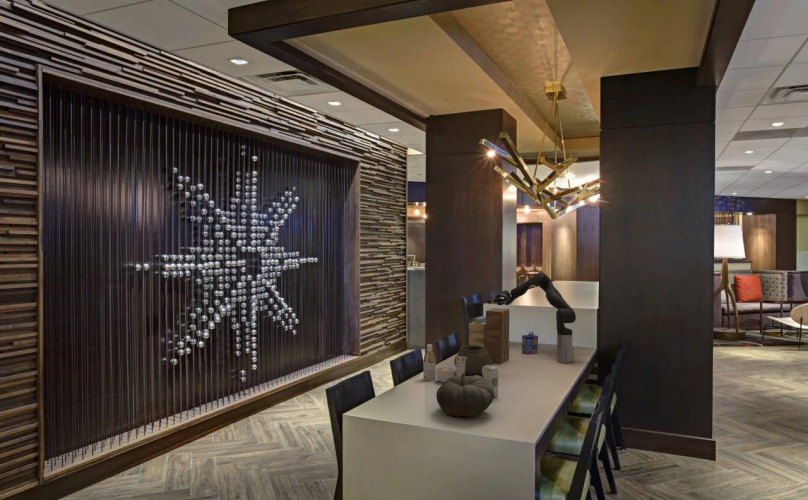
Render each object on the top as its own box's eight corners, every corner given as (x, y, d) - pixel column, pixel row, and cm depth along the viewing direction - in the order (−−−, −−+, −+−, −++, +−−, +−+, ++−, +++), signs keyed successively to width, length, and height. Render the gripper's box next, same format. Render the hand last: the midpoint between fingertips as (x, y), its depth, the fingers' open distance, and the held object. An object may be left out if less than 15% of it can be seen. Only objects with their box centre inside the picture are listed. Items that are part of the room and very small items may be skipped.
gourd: (494, 398, 246) (490, 363, 244) (498, 426, 222) (494, 386, 219) (439, 402, 249) (435, 367, 246) (437, 429, 225) (433, 390, 222)
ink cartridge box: (526, 354, 360) (526, 332, 360) (521, 353, 365) (521, 331, 365) (538, 353, 364) (538, 332, 364) (533, 351, 369) (533, 330, 369)
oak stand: (478, 352, 365) (479, 320, 365) (492, 354, 361) (493, 321, 360) (468, 357, 349) (469, 323, 349) (483, 359, 345) (483, 324, 344)
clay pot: (491, 379, 293) (491, 352, 292) (451, 377, 297) (452, 350, 297) (492, 370, 314) (492, 344, 314) (456, 368, 318) (456, 343, 318)
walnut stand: (493, 357, 349) (494, 308, 349) (508, 359, 345) (509, 309, 344) (485, 362, 335) (485, 310, 335) (501, 364, 331) (501, 311, 330)
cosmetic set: (470, 382, 286) (470, 347, 285) (463, 386, 278) (463, 350, 277) (428, 376, 298) (428, 342, 298) (420, 380, 290) (420, 345, 290)
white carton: (487, 394, 264) (487, 364, 264) (498, 396, 260) (498, 366, 260) (481, 396, 260) (481, 366, 259) (492, 399, 256) (492, 368, 256)
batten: (488, 318, 373) (488, 314, 372) (493, 319, 371) (493, 314, 371) (474, 323, 350) (474, 318, 350) (480, 323, 348) (480, 319, 348)
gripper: (490, 295, 381) (484, 297, 367) (510, 292, 376) (505, 294, 361) (492, 306, 381) (486, 308, 366) (512, 303, 376) (507, 305, 361)
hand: (495, 301), depth 364 cm, fingers open, 8 cm apart
